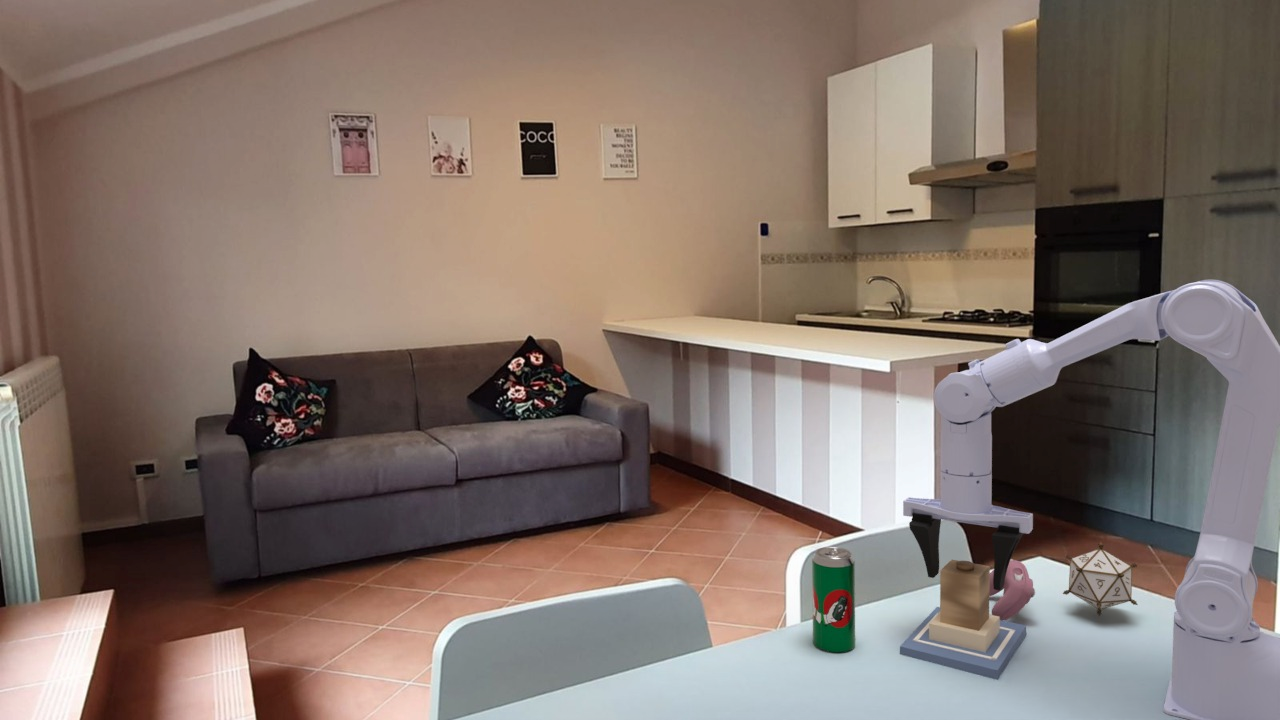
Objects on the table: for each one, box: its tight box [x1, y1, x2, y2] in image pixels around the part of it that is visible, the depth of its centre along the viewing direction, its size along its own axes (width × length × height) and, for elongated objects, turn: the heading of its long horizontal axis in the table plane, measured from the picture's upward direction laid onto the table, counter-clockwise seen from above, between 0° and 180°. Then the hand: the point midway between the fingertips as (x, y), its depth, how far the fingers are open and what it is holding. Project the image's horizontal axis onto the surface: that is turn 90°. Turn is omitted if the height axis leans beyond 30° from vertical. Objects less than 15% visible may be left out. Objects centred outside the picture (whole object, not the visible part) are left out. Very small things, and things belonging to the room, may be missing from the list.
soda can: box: [811, 546, 856, 654], centre depth 101 cm, size 5×5×12 cm
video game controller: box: [989, 558, 1036, 621], centre depth 110 cm, size 10×5×7 cm, turn 168°
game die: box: [1062, 541, 1139, 617], centre depth 108 cm, size 9×8×10 cm
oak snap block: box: [939, 559, 991, 631], centre depth 101 cm, size 4×4×7 cm
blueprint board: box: [899, 606, 1027, 680], centre depth 101 cm, size 11×14×3 cm
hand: (965, 581), depth 100 cm, fingers open, 7 cm apart
